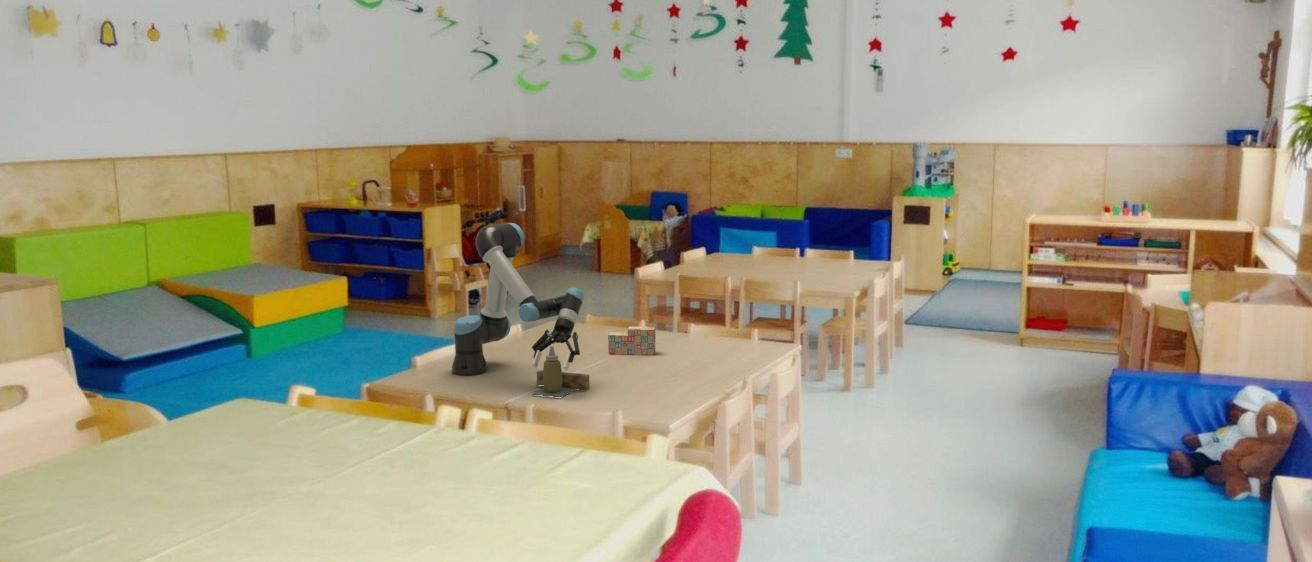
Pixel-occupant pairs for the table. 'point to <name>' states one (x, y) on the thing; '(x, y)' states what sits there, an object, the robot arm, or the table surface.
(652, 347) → the stack of blocks
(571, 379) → the walnut rail
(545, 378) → the squeeze bottle
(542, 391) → the grey rubber pad
